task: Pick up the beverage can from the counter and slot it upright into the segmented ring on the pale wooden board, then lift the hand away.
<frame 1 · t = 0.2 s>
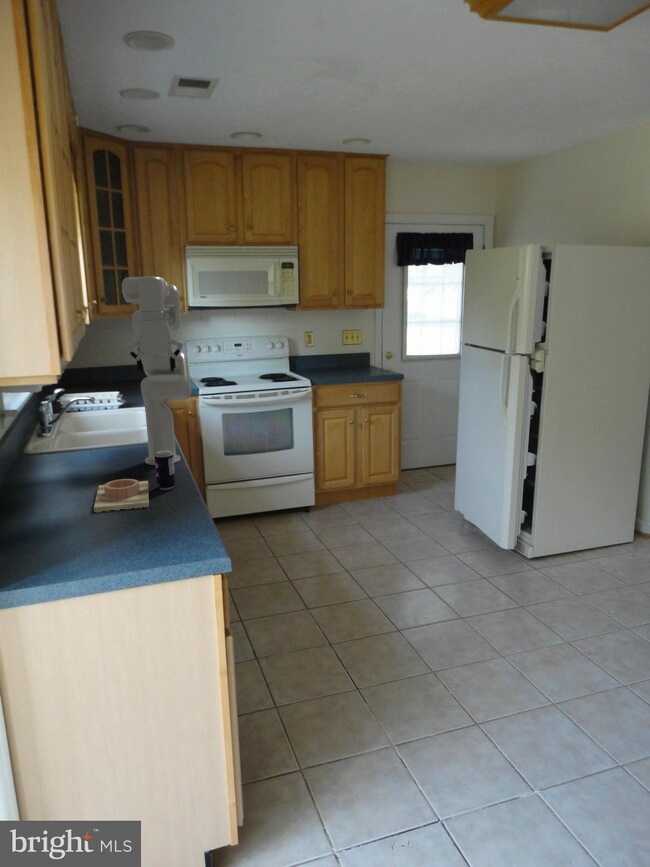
hand: (156, 371, 201), 36 cm above the countertop, tool pointing down, fingers open, 9 cm apart
segmented ring: (122, 488, 191), on the base board, point 2 cm above the countertop
beverage can: (166, 488, 201), on the countertop
base board: (123, 498, 191), on the countertop
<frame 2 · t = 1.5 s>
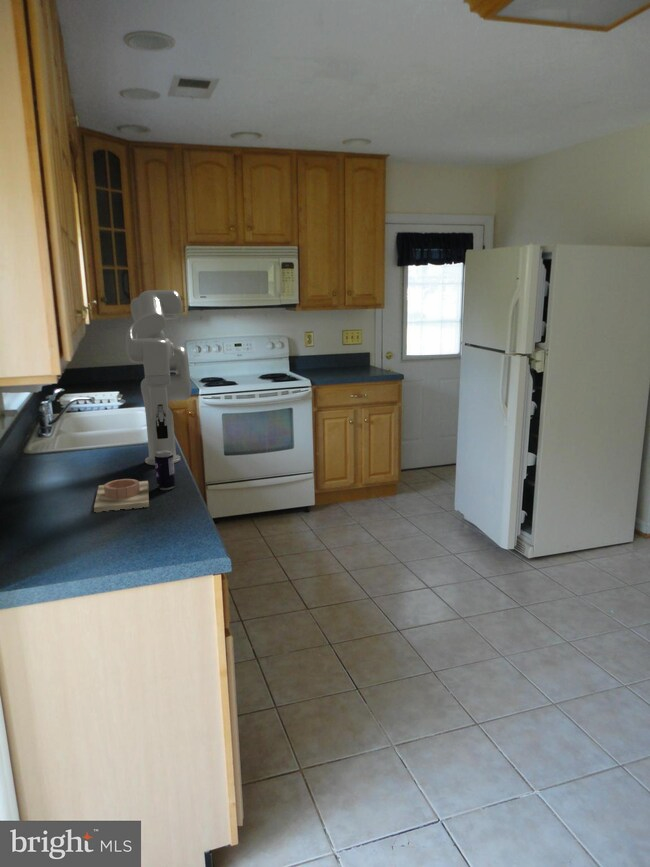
hand: (162, 435, 196), 17 cm above the countertop, tool pointing down, fingers open, 9 cm apart
nothing on the countertop moved.
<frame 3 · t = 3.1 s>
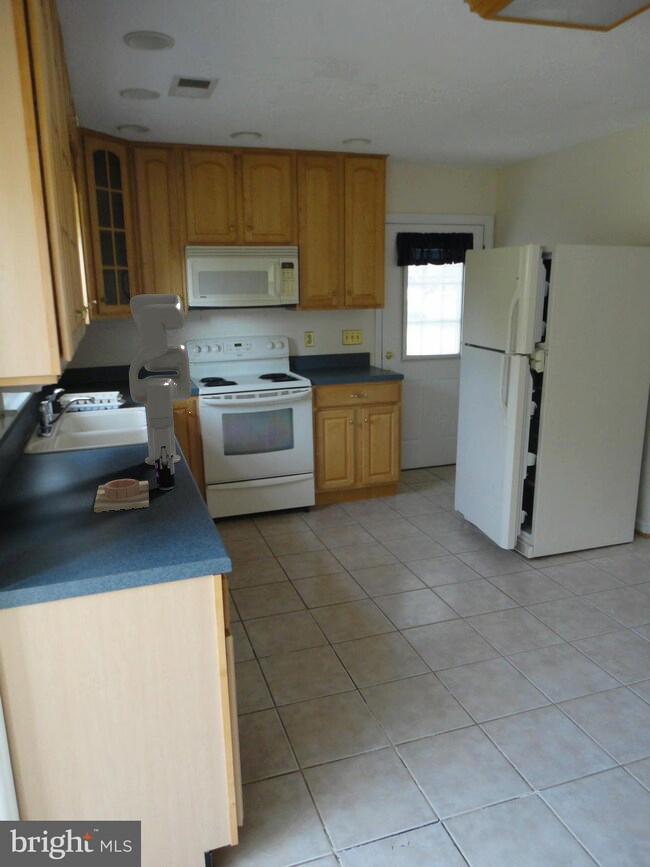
hand: (165, 477, 200), 4 cm above the countertop, tool pointing down, fingers closed on beverage can, 5 cm apart
beverage can: (166, 488, 201), on the countertop, touching gripper
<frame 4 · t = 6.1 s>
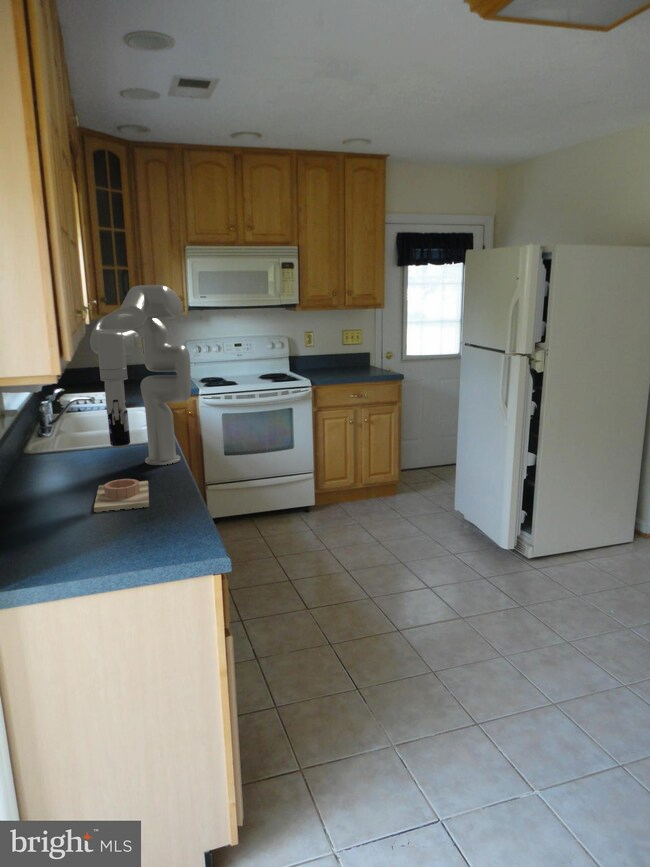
hand: (119, 434, 188), 20 cm above the countertop, tool pointing down, fingers closed on beverage can, 5 cm apart
beverage can: (120, 446, 188), point 16 cm above the countertop, touching gripper
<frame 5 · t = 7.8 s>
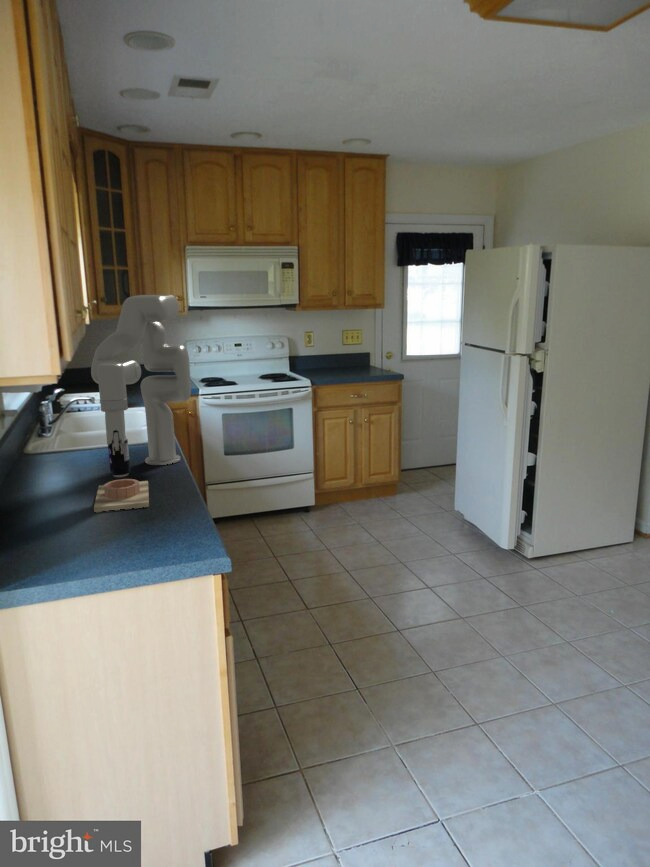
hand: (119, 463, 189), 11 cm above the countertop, tool pointing down, fingers closed on beverage can, 5 cm apart
beverage can: (120, 475, 190), point 7 cm above the countertop, touching gripper
when the fingers open (6 cm above the countertop, at t = 9.1 s): beverage can drops 1 cm, resting on base board.
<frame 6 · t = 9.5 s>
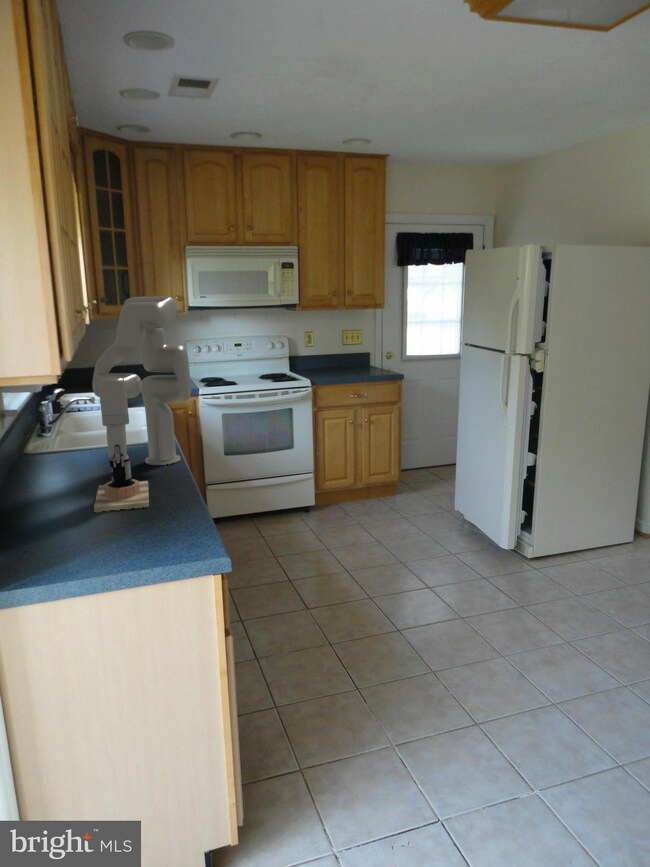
hand: (120, 475, 190), 7 cm above the countertop, tool pointing down, fingers open, 9 cm apart
beverage can: (123, 493, 191), point 1 cm above the countertop, touching base board
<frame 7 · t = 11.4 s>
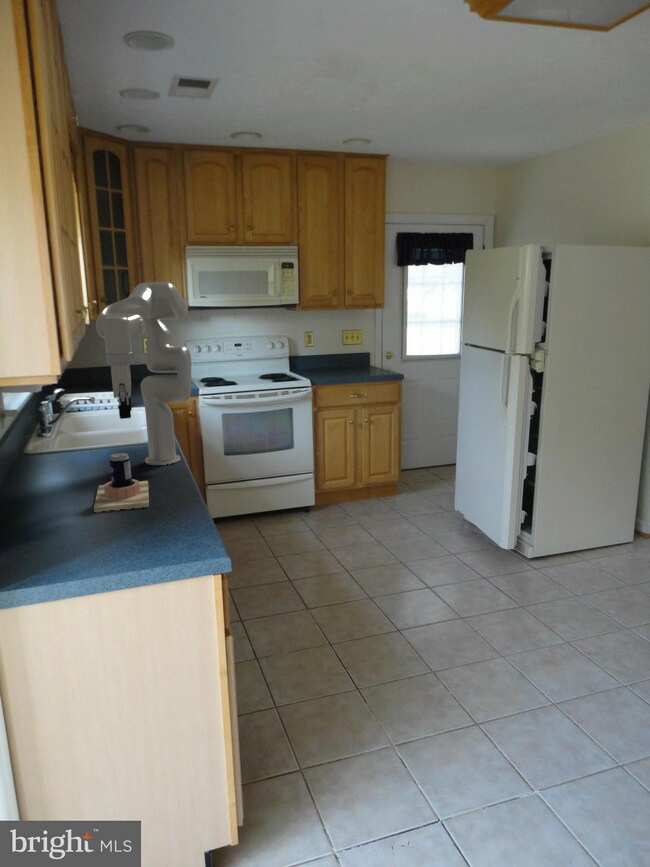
hand: (125, 414, 192), 25 cm above the countertop, tool pointing down, fingers open, 9 cm apart
nothing on the countertop moved.
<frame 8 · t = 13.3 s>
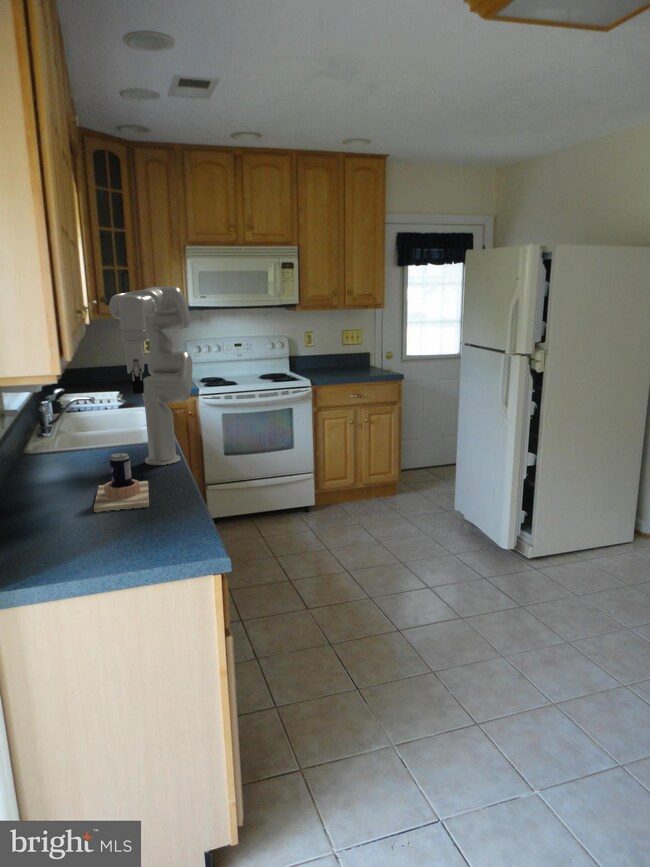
hand: (138, 391, 200), 30 cm above the countertop, tool pointing down, fingers open, 9 cm apart
nothing on the countertop moved.
at the end: beverage can 0.2 cm off-centre on the segmented ring, point 1.3 cm above the segmented ring's base; beverage can tilted 0°; the gripper is holding nothing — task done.
